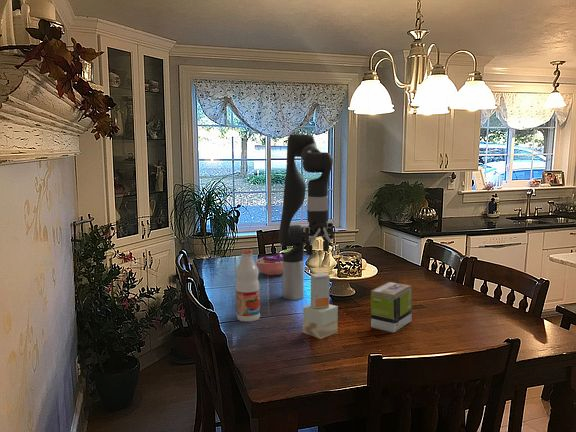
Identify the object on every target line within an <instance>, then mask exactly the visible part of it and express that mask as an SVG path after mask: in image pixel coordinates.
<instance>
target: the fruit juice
mask: <svg viewBox="0 0 576 432" xmlns="http://www.w3.org/2000/svg"><path fill="white" fill-rule="evenodd" d="M253 254H254V250H253V249H251V248H242V249H240V255H241V257H240V261H239V264H238V265H237V267H236V268H235V269H236V270H235V275H236V281H235V296H236V297H235V300H236V303H235V304H236V305H235V306H236V318H237V320H238V321H241V322H246V323H247V322H249V323H250V322H255V321H258V320H260V318H261V302H260V301H261V299H260V298H261V297H260V296H261V295H260V281H259V273H260V272H259V271H260V270H259V269H258V267H257V265H256V262H255V261H254V257H253Z"/></svg>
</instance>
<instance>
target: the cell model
mask: <svg viewBox="0 0 576 432" xmlns="http://www.w3.org/2000/svg"><path fill="white" fill-rule="evenodd" d="M255 265H256V266H257V267H258V270H259V271H260V272H261V273H262V274H265V275H267V276H280V275H283V254H282V253H280V252H279V253H276V255H271V256H270V255H269V256H267V255H266V256H265V255H264V256H263V257H260V258H258V259H256V260H255Z"/></svg>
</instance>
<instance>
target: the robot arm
mask: <svg viewBox="0 0 576 432" xmlns="http://www.w3.org/2000/svg"><path fill="white" fill-rule="evenodd" d="M297 157H299V158H301V159H302V167H303V170H304V171H305V172H307V173H309V174H310V173H313V174H314V173H315V174H316V173H321V174H320V176H318V177H317V178H313V179H310V180H309V181H308V182H307V186H306V183H305V181H304V178H303V177H302V175H301V174H300V172H299V169H298V167H297V165H296V158H297ZM333 161H334V159H333V157H332V154H331V153H330V152H325V151H324V152H323V151H322V152H321V150H319V148H318V146H317V142H316V141H315V138H314V136H312V135H309V134H300V133H299V134H298V133H296V134H295V133H294V134H293V133H291V134H289V136H288V138H287V145H286V171H285V172H286V173H285V180H284V181H285V182H284V185H283V186H284V187H283V201H282V202H283V203H282V213H281V219H280V225H279V230H278V241H279V242H278V243H279V244H280V245H281V246H282V247H292V248H291V249H290V250H288V251H287V252H285V253H283V254H282V255H283V273H282V275H281V297H283V299H286V300H291V301H292V300H293V301H297V300H301V299H303V298H304V255H305V253H306V255H307V256H313V251H314V250H313V243H314V241H315V240H316V239H317V238H320V237H321V238H322V240H323V241H322V251H323V252H329V250H330V241H331V240H333V239H334V223H333V222H329V199H328V190H329V188H328V186H329V185H328V183H329V179H330V174H331V171H332V168H333V163H334V162H333ZM306 188H307V189H306ZM306 190H307V200H306V203H307V204H306V207H307V208H306V212H307V213H306V215H307V217H306V218H307V219H306V221H307V223H308V226H302V225H300V224H293V225H291V222H292V220H293V218H294V216H295V215H296V214H297V212H299V210H300V209H301V207H302V205H303V204H304V202H305V199H306V198H305V197H306ZM304 252H305V253H304Z"/></svg>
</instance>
